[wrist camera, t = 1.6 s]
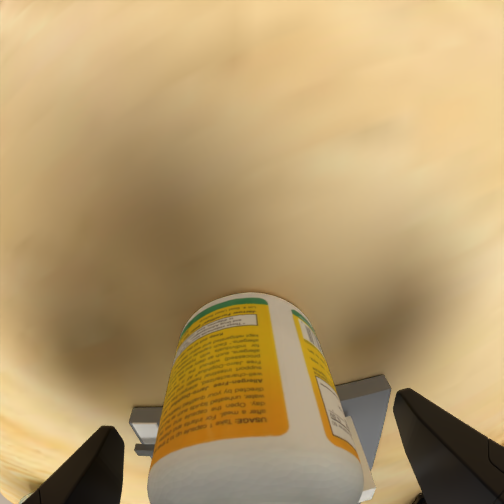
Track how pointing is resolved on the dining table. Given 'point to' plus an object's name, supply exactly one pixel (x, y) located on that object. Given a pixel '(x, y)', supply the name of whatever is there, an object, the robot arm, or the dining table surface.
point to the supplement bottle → (252, 412)
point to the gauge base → (351, 398)
